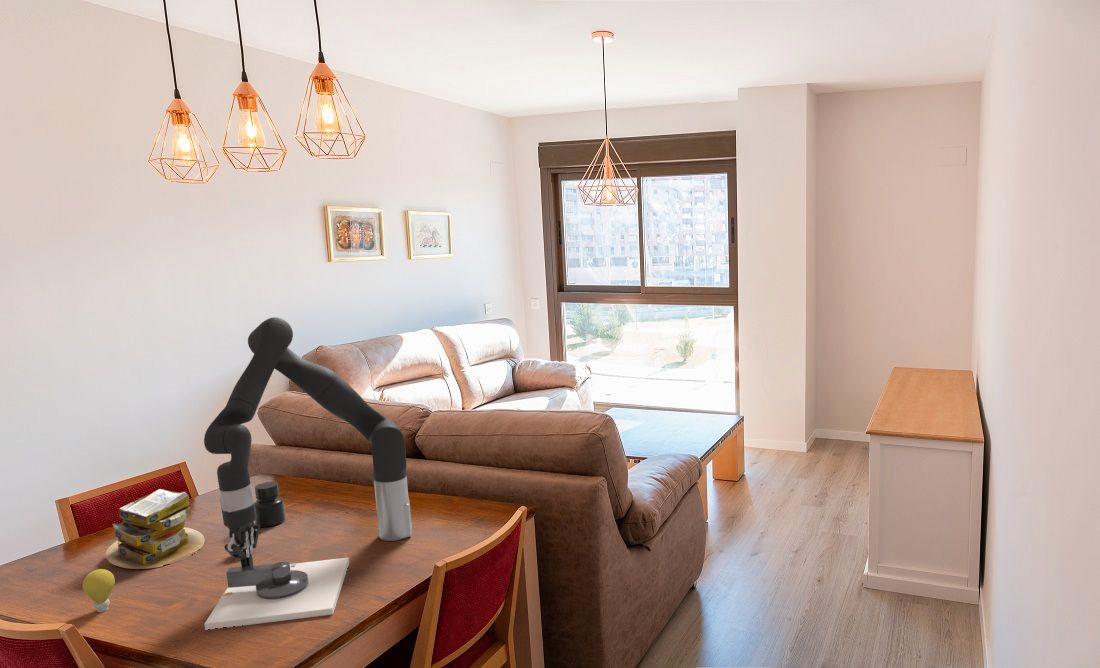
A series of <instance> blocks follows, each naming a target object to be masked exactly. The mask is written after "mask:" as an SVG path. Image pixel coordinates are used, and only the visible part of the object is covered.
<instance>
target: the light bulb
mask: <svg viewBox="0 0 1100 668" xmlns="http://www.w3.org/2000/svg"><path fill="white" fill-rule="evenodd" d="M115 581H116V580H115V576H114V574H113V573H112V572H111V571H109V570H108V569H103V568H99V569H95V570H92V571H91V572H89V573H88V574H87V575H86V576H85V578H84V579H83V581H82V590H83V592H84V593H85V594H86V595H87V596H88V598H90V599H91V600H92V601H93V602H94V603H93V607H94V609H96V612H98V613H102V612H105V611H107V610H108V609H109V605H110V599H109V597H110V595H111V594H112V593H111V592H112V591H113V588H114V585H115V583H116V582H115Z"/></svg>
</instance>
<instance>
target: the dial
mask: <svg viewBox="0 0 1100 668" xmlns="http://www.w3.org/2000/svg"><path fill="white" fill-rule="evenodd" d="M290 564H291V563H290V562H288V561H281V562H277V563H273V564H272V563H271V564H259V565H253V566H245V567H242V566H234V567H233V566H232V567H229V569H228V570H226V572H225V573H226V580H227V588H232V587H245V586H256V593H257V595H258V596H259V597H261V598H265V599H277V598H283V597H287V596H290V595H293V594H296V593H298V592H300V591H301V590H303V589H304V588H305V587H306V586H307V585H308V576H307V574H306V573H305V572H303V571H298V570H290Z"/></svg>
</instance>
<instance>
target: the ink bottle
mask: <svg viewBox="0 0 1100 668" xmlns="http://www.w3.org/2000/svg"><path fill="white" fill-rule="evenodd" d="M254 491H255V492H254V494H255V499H256V500H255V501H254V503H255V509H256V516H257V517H256V520H255V521H254V524H255V525H260V528H268V527H273V526H278V525H280V524H282V523H284V522H285V521H286V510H285V503H284V502H285V501H284V499H283V498H282V497H281V496H280V489H279V483H278V482H276V481H267V482H262V483H258V484H256V485H255V486H254Z"/></svg>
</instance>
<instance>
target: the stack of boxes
mask: <svg viewBox="0 0 1100 668" xmlns="http://www.w3.org/2000/svg"><path fill="white" fill-rule="evenodd" d="M189 505H190V497H189V494H187V492H186V491H182V492H177V491H171V490H166V489H161V488H159V489H157V490H155V491H153V492H152V493H150V494H147V495H146V496H143V497H140V498H138V499H137V500H135V501H132V502H130V503H128V504H126V505H124V506H122V507H119V509H118V513H119V516H118V518H119V519H122V522H119V523H112V524H111V525H112V526H113V527H112V528H113V537H114V538H117V540H115V541H114V542H113V543H112V544H111V545H110V546H109V547H108V548H107V550H106V552H105V557H106V560H107V561H108V562H109V563H110V564H112V565H114V566H117V567H120V568H124V569H130V570H131V569H134V570H145V569H154V568H160V567H164V566H163V565H164V564H168V563H169V562H171V561H173V560H175V559H177V558H180V557H182V556H185V555H186V554H189V553H192V552H195V551H197V550H198V549H200V550H201V549H202V548H203V547H204V544H205V543H206V542H205V536H204V535H203V533H201V532H200V531H198V530H196V529H194V528H190V527H185V523H186V520H187V519H188V518H190V517H191V513H192V512H191V507H190V506H189Z"/></svg>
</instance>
